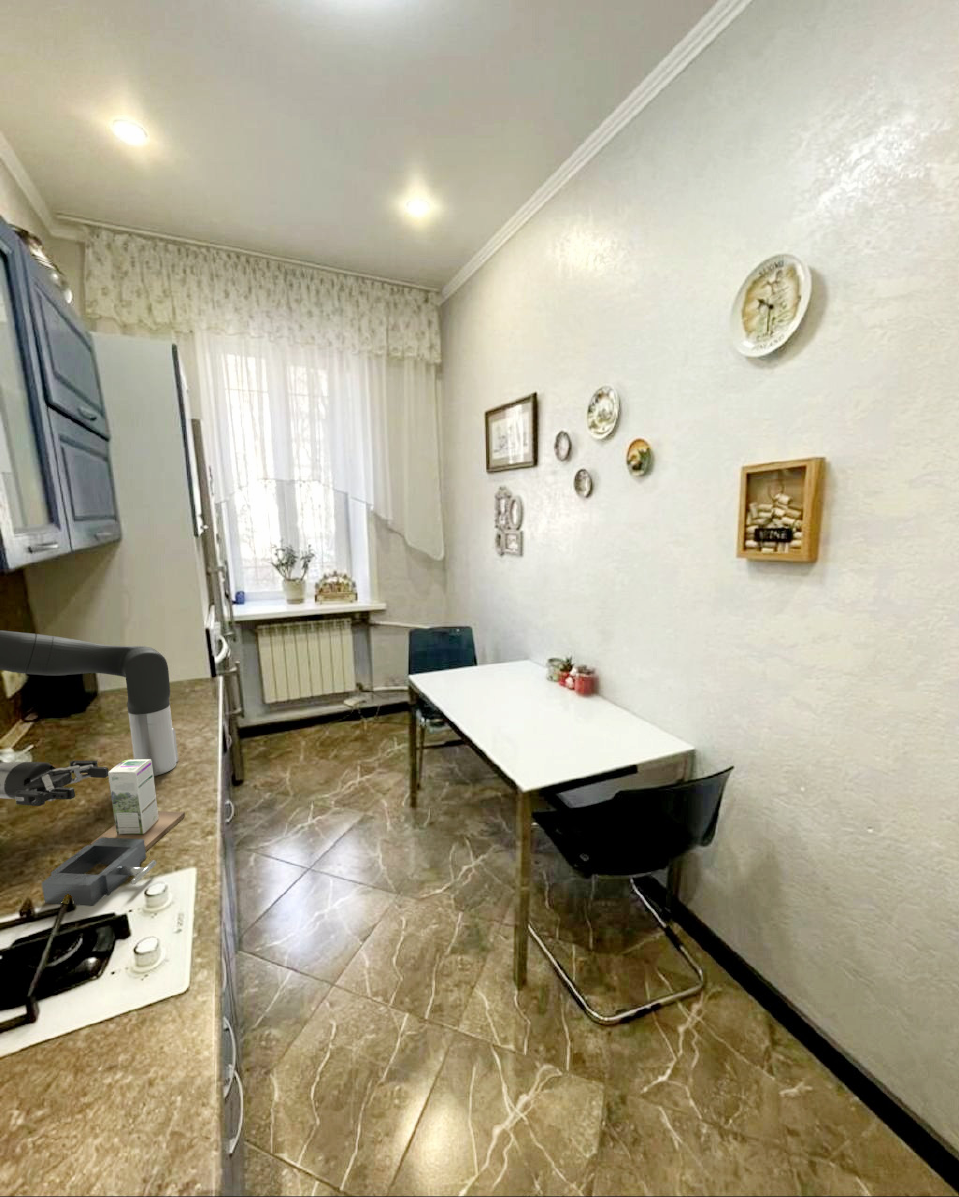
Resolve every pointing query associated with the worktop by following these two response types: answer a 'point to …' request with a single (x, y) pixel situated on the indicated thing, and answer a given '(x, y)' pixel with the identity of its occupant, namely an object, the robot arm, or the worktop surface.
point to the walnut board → (154, 832)
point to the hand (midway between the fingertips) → (91, 782)
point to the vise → (92, 888)
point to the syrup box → (133, 796)
